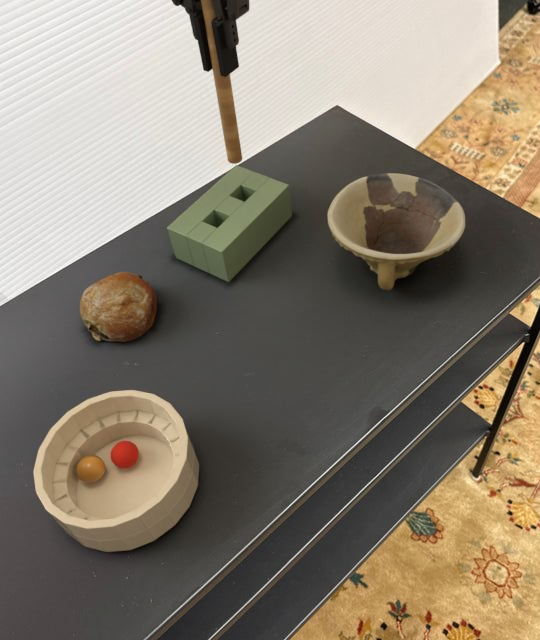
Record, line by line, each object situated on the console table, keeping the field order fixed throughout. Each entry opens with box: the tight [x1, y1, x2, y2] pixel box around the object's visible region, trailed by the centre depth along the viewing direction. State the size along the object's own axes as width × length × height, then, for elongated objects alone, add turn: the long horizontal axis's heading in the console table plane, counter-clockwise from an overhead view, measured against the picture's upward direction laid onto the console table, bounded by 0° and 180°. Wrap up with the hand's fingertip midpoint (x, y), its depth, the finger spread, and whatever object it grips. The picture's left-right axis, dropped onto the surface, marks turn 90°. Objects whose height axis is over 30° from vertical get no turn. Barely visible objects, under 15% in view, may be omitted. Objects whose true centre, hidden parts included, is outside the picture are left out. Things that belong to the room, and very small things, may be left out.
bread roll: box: [79, 271, 158, 343], centre depth 86 cm, size 10×10×8 cm
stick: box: [201, 0, 243, 165], centre depth 80 cm, size 2×2×22 cm
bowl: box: [326, 172, 466, 291], centre depth 88 cm, size 18×18×10 cm
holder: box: [166, 164, 293, 283], centre depth 94 cm, size 10×16×6 cm, turn 148°
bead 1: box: [76, 455, 105, 483], centre depth 71 cm, size 3×3×3 cm
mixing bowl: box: [33, 389, 200, 553], centre depth 69 cm, size 16×16×7 cm
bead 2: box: [111, 441, 139, 468], centre depth 71 cm, size 3×3×3 cm
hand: (221, 68), depth 79 cm, fingers closed on stick, 2 cm apart
